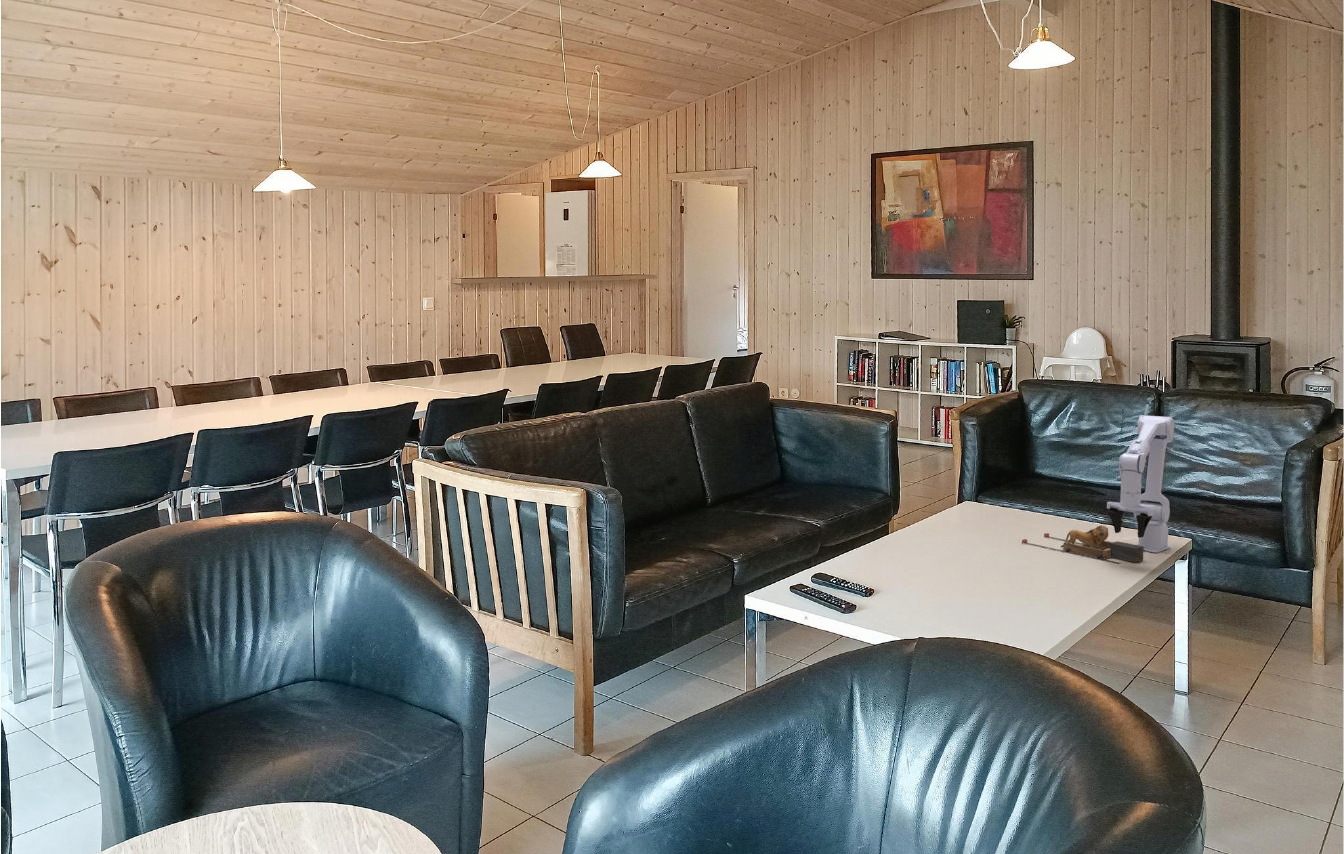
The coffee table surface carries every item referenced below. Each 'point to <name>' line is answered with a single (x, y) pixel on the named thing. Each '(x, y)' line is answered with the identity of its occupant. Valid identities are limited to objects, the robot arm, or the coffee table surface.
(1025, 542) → the rail track
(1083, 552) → the cart
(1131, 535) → the coffee table surface
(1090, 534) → the lion figurine
